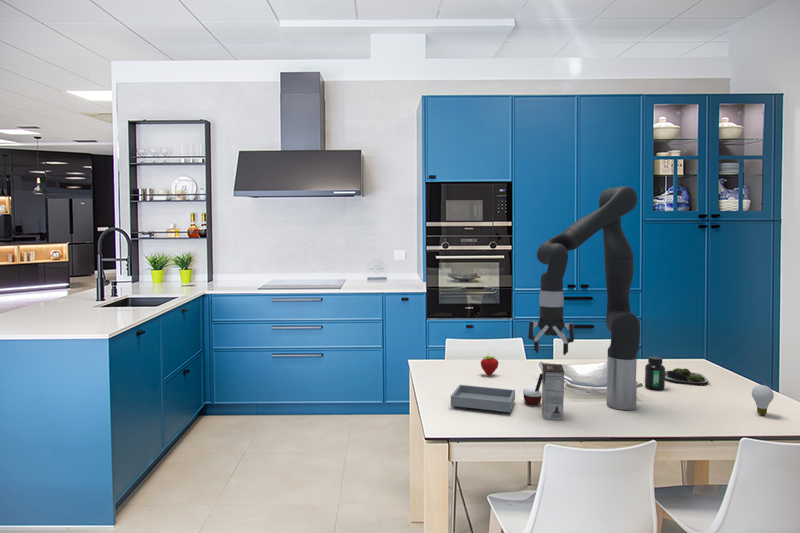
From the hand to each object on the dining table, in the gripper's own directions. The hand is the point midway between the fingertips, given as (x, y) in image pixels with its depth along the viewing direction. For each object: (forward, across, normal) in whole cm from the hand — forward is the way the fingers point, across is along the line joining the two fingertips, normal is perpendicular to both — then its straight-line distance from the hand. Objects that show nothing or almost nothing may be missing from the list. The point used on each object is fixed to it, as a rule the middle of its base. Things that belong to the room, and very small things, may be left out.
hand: (550, 353), depth 167 cm
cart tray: (+20, +22, 0) cm, 30 cm away
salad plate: (+21, -47, -62) cm, 80 cm away
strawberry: (+20, +28, -38) cm, 51 cm away
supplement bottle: (+21, -35, -44) cm, 60 cm away
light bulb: (+21, -65, -24) cm, 72 cm away
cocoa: (+20, +7, -8) cm, 23 cm away
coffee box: (+20, -1, +1) cm, 21 cm away
